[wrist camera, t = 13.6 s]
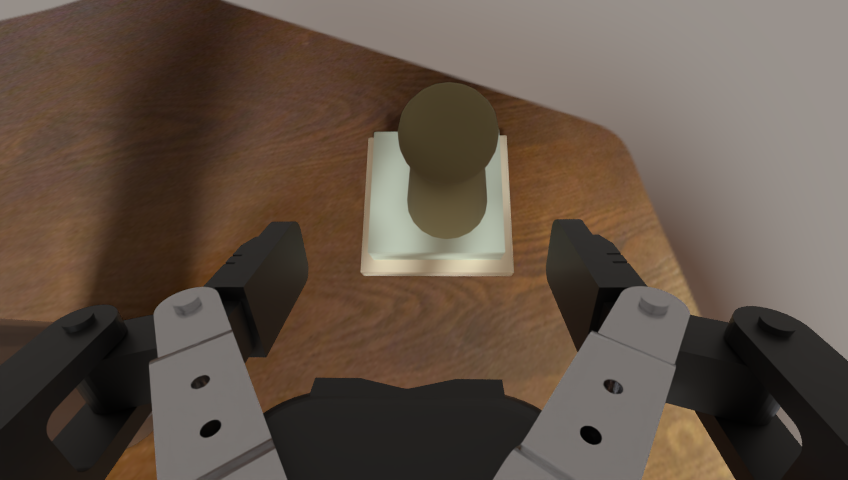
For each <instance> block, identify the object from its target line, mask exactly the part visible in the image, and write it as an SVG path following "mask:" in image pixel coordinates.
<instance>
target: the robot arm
mask: <svg viewBox="0 0 848 480" xmlns="http://www.w3.org/2000/svg"><path fill="white" fill-rule="evenodd" d="M546 275H547V280H548V283H549V286H550V288H551V290H552V293H553V295H554V298H555V300H556V302H557V305H558V307H559V309H560V312H561V314H562V316H563V319H564V321H565V323H566V326H567V328H568V330H569V333H570V335H571V338H572V340H573V342H574V345H575V347H576V349H577V352H578V353H577V355H576V356H575V358H574V360H573V361H572V363H571V364H570V366H569V368H568V369H567V371H566V373H565V374H564V376H563V377H562V379H561V381H560V382H559V384H558V386H557V387H556V389H555V390H554V392H553V394H552V395H551V397H550V399H549V400H548V402H547V403H546V405H545V407H544V408H543V410H540V409H539V408H537V407H535V406H533V405H531V404H529V403H527V402H525V401H522V400H520V399H517V398H514V397H511V396H507V395H505V394H504V388H503V383H502V380H484V379H454V380H449V381H444V382H440V383H435V384H430V385H425V386H420V387H415V388H410V389H404V388H399V387H395V386H391V385H387V384H382V383H378V382H374V381H370V380H366V379H362V378H315V381H314V384H313V386H312V389H311V392H310V393H308V394H304V395H301V396H297V397H294V398H292V399H289V400H287V401H284V402H282V403H280V404H278V405H276V406H275V407H273V408H271V409H269V410H268V411H266V412H265V413H262V410H261V407H260V405H259V402H258V399H257V396H256V394H255V391H254V388H253V386H252V383H251V380H250V377H249V375H248V372H247V369H246V367H245V363H246V361H247V359H248V357H267V355H268V353H269V351H270V349H271V347H272V345H273V344H274V342H275V340H276V338H277V336H278V334H279V332H280V330H281V329H282V327H283V325H284V323H285V321H286V319H287V317H288V315H289V314H290V312H291V310H292V308H293V306H294V304H295V302H296V300H297V298H298V297H299V295H300V293H301V291H302V289H303V287H304V285H305V283H306V281H307V278H308V262H307V257H306V253H305V248H304V243H303V239H302V234H301V229H300V226H299V224H298V223H297V222H271V223H270V224H269V225H268V226H267V227H266V229H265V230H264V231H263V232H262V233H261V234H260V235H259V237H255V238H253V239H251V240H250V241H248V242H246V243H244V244H243V245H241V246H240V247H239V249H238V250H237V251H236V252H235V253H234V254H233V257H230V258H229V259H228V260H227V262H226V264H224V265H223V266H222V267H221V268H220V269H219V270H218V271H217V272H216V273H215V275H214V276H213V277H212V278H211V279H210V280H209V281H208V282H207V283H206V284H205V285H204V286H203V287H196V288H191V289H187V290H184V291H181V292H178V293H176V294H174V295H172V296H170V297H168V298H167V299H165V300H164V301H163V302H161V303H160V304H159V305H158V306H157V308H156V309H155V311H154V315H149V316H144V317H139V318H134V319H129V320H124V321H123V320H122V318H121V316H120V314H119V312H118V310H117V309H116V308H115V307H114V306H111V305H95V306H90V307H86V308H83V309H80V310H77V311H74V312H72V313H70V314H67V315H65V316H63V317H62V318H60V319H58V320H57V321H55V322H43V321H28V320H13V319H0V480H105V478H106V477H107V475H108V474H109V473H110V471H111V470H112V468H113V467H114V465H115V464H116V462H117V461H118V459H119V458H120V457H121V455H122V454H123V452H124V451H125V449H126V448H129V447H131V446H133V445H135V444H137V443H138V442H140V441H141V440H143V439H144V438H145V437H147V436H148V435H149V434H150V433H151V432H152V431H153V430H154V442H155V455H156V469H157V480H641V479H642V476H643V473H644V470H645V466H646V463H647V460H648V457H649V453H650V450H651V447H652V444H653V440H654V437H655V434H656V431H657V427H658V424H659V421H660V418H661V415H662V411H663V408H664V405H665V403H669V404H672V405H676V406H680V407H684V408H687V409H691V410H695V412H696V414H697V416H698V417H699V419H700V421H701V422H702V424H703V426H704V427H705V429H706V431H707V432H708V434H709V436H710V437H711V439H712V441H713V442H714V444H715V446H716V447H717V449H718V451H719V452H720V454H721V456H722V457H723V459H724V461H725V463H726V464H727V466H728V468H729V469H730V471H731V473H732V474H733V476H734V478H735V479H736V480H848V361H847V360H846V359H845V358H844V357H843V356H842V355H840V354H839V353H838V352H837V351H836V350H835V349H833V348H832V347H831V346H830V345H829V344H828V343H826V342H825V341H824V340H823V339H822V338H821V337H820V336H819V335H817V334H816V333H815V332H814V331H813V330H812V329H810V328H809V327H808V326H807V325H805V324H804V323H802V322H801V321H799V320H797V319H795V318H793V317H791V316H789V315H787V314H784V313H781V312H778V311H775V310H772V309H768V308H763V307H756V306H746V307H741V308H738V309H736V310H735V311H734V313H733V315H732V317H731V319H730V321H729V323H728V322H723V321H718V320H713V319H707V318H703V317H698V316H693V315H690V312H689V309H688V307H687V306H686V305H685V304H684V303H683V302H682V301H681V300H680V299H678V298H677V297H675V296H674V295H672V294H670V293H668V292H665V291H662V290H659V289H656V288H651V287H648V286H647V285H646V284H645V283H644V282H643V280H642V279H641V278H640V277H639V275H638V274H637V273H636V272H635V270H634V269H633V268H632V267H631V265H630V264H629V263H627V260H626V259H625V258H624V257H623V255H621V253H620V252H619V250H618V249H617V248H616V247H615V246H614V244H613V243H612V242H610V241H608V240H607V239H605V238H603V237H602V236H600V235H592V233H591V232H590V231H589V229H588V228H587V226H586V225H585V224H584V222H583V221H582V220H581V219H557V220H554V222H553V225H552V230H551V236H550V243H549V250H548V256H547V263H546ZM780 407H782V409H783V410H784V411H785V412H786V413H787V415H788V416H789V417H790V418H791V419H792V421H793V422H794V423H795V424H796V426H797V428H798V430H799V432H800V435H801V438H802V446H801V445H800V444H799V443H798V441H797V440H796V439H795V438H794V436H793V435H792V434H791V433H790V432H789V430H788V429H787V428H786V426H785V425H784V424H783V423H782V422H781V420H780V419H779V418H778V416H777V415H776V413H777V411H778V410H779V408H780Z"/></svg>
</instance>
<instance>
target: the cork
mask: <svg viewBox="0 0 848 480" xmlns="http://www.w3.org/2000/svg"><path fill="white" fill-rule="evenodd" d="M498 137H499V128H498V123H497V118H496V113H495V111H494V109H493V108H492V106H491V104H490V103H489V101H488V100H487V99H486V98H485V97H484V96H482V95H481V94H480V93H479V92H478V91H477V90H475V89H473V88H471V87H469V86H467V85H464V84H460V83H453V82H446V83H438V84H434V85H432V86H429V87H427V88H425V89H423V90H422V91H420V92H419V93H418V94H417V95H415V96H414V97H413V98H412V99H411V100H410V101H409V102H408V104H407V105H406V107H405V108H404V110H403V111H402V114H401V118H400V122H399V127H398V141H399V147H400V151H401V153H402V155H403V157H404V159H405V161H406V163H407V164H408V165H409V167H410V172H409V184H408V195H407V204H408V212H409V214H410V216H411V218H412V220H413V222H414V223H415V224H416V225H417V226H418V227H419V228H420V230H421V231H423V232H425V233H427V234H429V235H430V236H432V237H436V238H442V239H452V238H459V237H461V236H463V235H465V234H468V233H470V232H471V231H472V230H473V229H474V228H476V227H477V226H478V225H479V224H480V222H481V220H482V218H483V217H484V215H485V212H486V206H487V188H486V171H485V167H486V166H487V165H488V164H489V162H490V160H491V159H492V157H493V155H494V153H495V151H496V148H497V143H498Z"/></svg>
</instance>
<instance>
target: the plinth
mask: <svg viewBox="0 0 848 480" xmlns="http://www.w3.org/2000/svg"><path fill="white" fill-rule="evenodd" d="M485 171H486V188H487V206H486V212H485V215H484V217H483V218H482V220H481V222H480V224H479V225H478V226H477V227H476V228H474V229H473V230H472V231H471V232H470V233H468V234H465V235H463V236H461V237H459V238H452V239H442V238H436V237H432V236H430V235H429V234H427V233H425V232H423V231H421V230H420V228H419V227H418V226H417V225H416V224H415V223H414V222H413V220H412V218H411V216H410V214H409V212H408V204H407V195H408V184H409V172H410V167H409V165H408V164H407V163H406V161H405V159H404V157H403V155H402V153H401V151H400V147H399V141H398V132H374V138H369V141H368V158H367V174H366V191H365V208H364V225H363V242H362V258H361V273H362V274H363V275H364V276H511V275H512V274H513V273H514V266H513V247H512V229H511V210H510V192H509V173H508V155H507V136H506V135H505V136H500V135H499V137H498V143H497V148H496V151H495V153H494V155H493V157H492V159H491V160H490V162H489V164H488V165H487V166H486V167H485Z"/></svg>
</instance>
